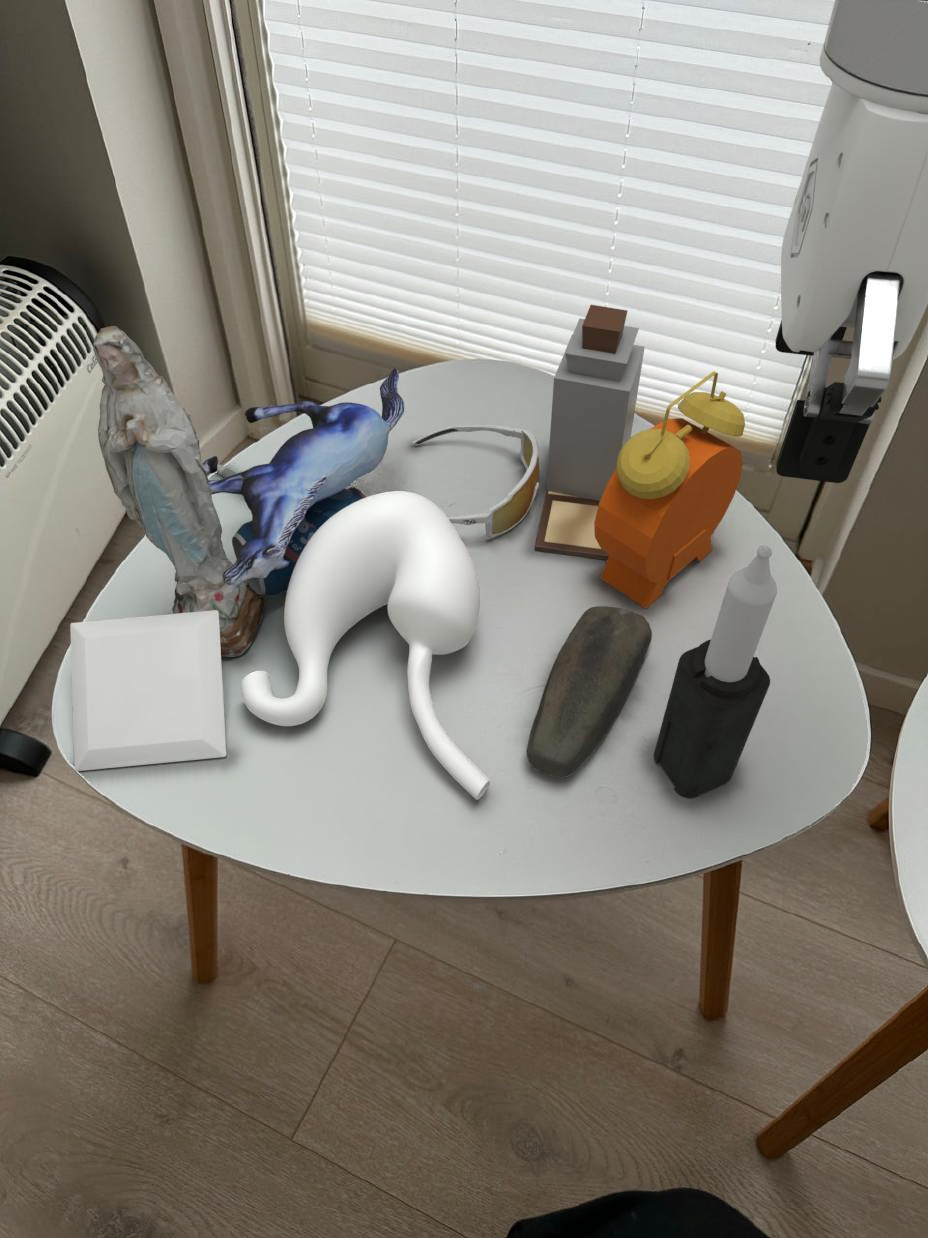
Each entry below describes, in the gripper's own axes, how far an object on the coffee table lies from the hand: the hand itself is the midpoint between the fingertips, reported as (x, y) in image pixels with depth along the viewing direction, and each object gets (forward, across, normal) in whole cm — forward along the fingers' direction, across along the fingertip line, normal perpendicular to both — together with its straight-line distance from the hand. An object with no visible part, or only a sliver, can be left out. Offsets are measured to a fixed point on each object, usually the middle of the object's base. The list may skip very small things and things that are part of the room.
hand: (806, 409), depth 47 cm
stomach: (+35, -5, -24) cm, 43 cm away
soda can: (+31, -10, -40) cm, 52 cm away
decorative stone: (+35, -4, -8) cm, 37 cm away
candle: (+35, 0, +1) cm, 35 cm away
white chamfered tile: (+31, +4, -43) cm, 53 cm away
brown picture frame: (+35, -28, -12) cm, 46 cm away
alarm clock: (+35, -21, -4) cm, 41 cm away
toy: (+28, -22, -42) cm, 54 cm away
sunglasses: (+35, -27, -23) cm, 50 cm away
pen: (+35, -24, -43) cm, 60 cm away
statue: (+35, -6, -41) cm, 55 cm away
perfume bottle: (+35, -31, -12) cm, 48 cm away
